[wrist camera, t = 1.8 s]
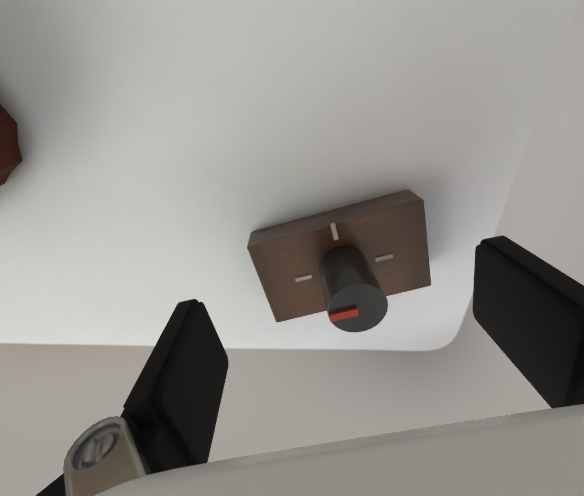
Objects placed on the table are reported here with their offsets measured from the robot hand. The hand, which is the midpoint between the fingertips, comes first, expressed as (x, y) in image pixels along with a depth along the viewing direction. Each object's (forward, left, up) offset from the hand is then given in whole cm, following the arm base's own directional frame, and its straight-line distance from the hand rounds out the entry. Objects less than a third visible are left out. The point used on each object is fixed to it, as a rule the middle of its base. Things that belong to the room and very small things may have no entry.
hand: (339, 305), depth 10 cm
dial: (-1, +7, -13) cm, 15 cm away
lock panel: (-1, +7, -16) cm, 17 cm away
